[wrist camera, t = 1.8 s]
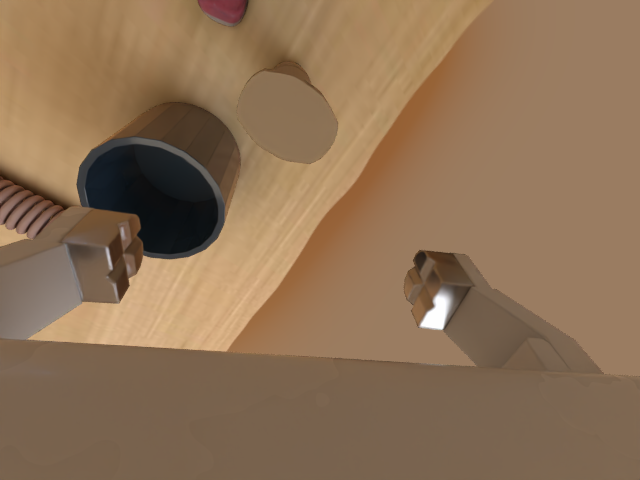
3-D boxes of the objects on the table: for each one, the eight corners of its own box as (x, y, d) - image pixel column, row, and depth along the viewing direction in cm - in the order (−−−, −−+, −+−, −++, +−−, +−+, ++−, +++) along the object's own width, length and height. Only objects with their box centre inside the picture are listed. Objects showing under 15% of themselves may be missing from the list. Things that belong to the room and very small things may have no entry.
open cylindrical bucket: (124, 91, 32) (61, 124, 23) (244, 113, 34) (227, 151, 25) (137, 195, 39) (92, 251, 30) (237, 208, 41) (222, 265, 32)
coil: (98, 243, 37) (-111, 144, 29) (81, 270, 39) (-122, 183, 31) (114, 224, 41) (-66, 132, 33) (98, 249, 43) (-78, 168, 35)
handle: (273, 33, 30) (261, 51, 18) (329, 76, 33) (352, 116, 21) (249, 81, 33) (224, 125, 20) (303, 117, 35) (310, 176, 23)
